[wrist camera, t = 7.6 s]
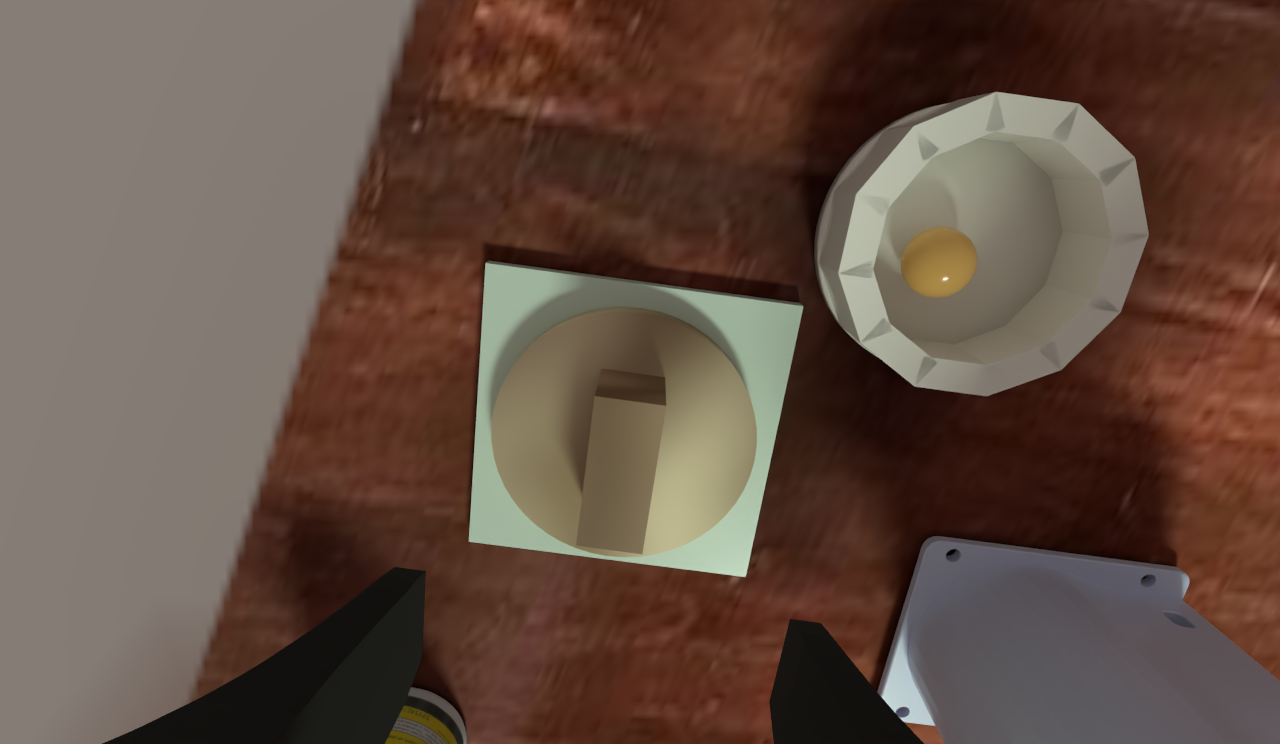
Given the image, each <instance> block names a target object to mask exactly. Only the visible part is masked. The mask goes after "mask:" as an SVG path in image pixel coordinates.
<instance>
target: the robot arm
mask: <svg viewBox="0 0 1280 744" xmlns="http://www.w3.org/2000/svg"><path fill="white" fill-rule="evenodd" d="M951 549H956V551H955V553H954V554H952V555H949V556H946V554H947V552H948V551H950V550H951ZM1146 575H1147V577H1146V578H1145V579H1143V580H1141V579H1142V578H1143V577H1144V576H1146ZM425 576H426V571H420V570H413V569H405V568H398V567H394V568H393V569H391V570H390V571H389V572H387V573H386V574H385V575H383V576H382V577H381V578H379V579H378V580H377V581H375V582H374V583H373V584H371V585H370V586H369V587H367V588H366V589H365V590H364V591H362V592H361V593H360V594H358V595H357V596H356V597H355V598H353V599H352V600H351V601H349V602H348V603H347V604H345V605H344V606H343V607H341V608H340V609H339V610H337V611H336V612H335V613H333V614H332V615H331V616H329V617H328V618H326V619H325V620H324V621H322V622H321V623H320V624H318V625H317V626H315V627H314V628H313V629H311V630H310V631H309V632H307V633H306V634H304V635H303V636H301V637H300V638H299V639H297V640H296V641H294V642H293V643H291V644H290V645H288V646H287V647H285V648H284V649H282V650H281V651H279V652H278V653H276V654H275V655H273V656H271V657H270V658H268V659H267V660H265V661H264V662H262V663H261V664H259V665H257V666H256V667H254V668H252V669H251V670H249V671H247V672H246V673H244V674H242V675H241V676H239V677H237V678H235V679H234V680H232V681H230V682H228V683H226V684H225V685H223V686H221V687H219V688H218V689H216V690H214V691H212V692H210V693H209V694H207V695H205V696H203V697H201V698H199V699H197V700H195V701H193V702H191V703H189V704H187V705H185V706H183V707H181V708H179V709H177V710H175V711H173V712H170V713H168V714H166V715H164V716H162V717H160V718H158V719H156V720H154V721H152V722H150V723H148V724H146V725H144V726H142V727H140V728H137V729H135V730H133V731H131V732H129V733H126V734H124V735H122V736H120V737H117V738H115V739H113V740H110V741H108V742H105V743H103V744H385V742H386V740H387V739H388V737H389V735H390V733H391V731H392V729H393V727H394V725H395V723H396V721H397V719H398V717H399V715H400V713H401V711H402V709H403V707H404V704H405V701H406V699H407V696H408V694H409V691H410V688H411V686H412V683H413V680H414V678H415V675H416V672H417V669H418V667H419V664H420V661H421V658H422V647H423V623H424V600H425ZM1189 582H1190V580H1189V576H1188V575H1187V574H1186V573H1184V572H1183V571H1182V570H1181V569H1179V568H1177V567H1173V566H1166V565H1158V564H1150V563H1143V562H1135V561H1127V560H1120V559H1112V558H1104V557H1097V556H1089V555H1081V554H1073V553H1066V552H1058V551H1050V550H1043V549H1035V548H1027V547H1020V546H1012V545H1004V544H997V543H989V542H981V541H973V540H966V539H958V538H950V537H943V536H933V537H931V538H928V539H927V540H926V541H925V542H924V543H923V545H922V547H921V550H920V553H919V557H918V560H917V563H916V566H915V570H914V573H913V576H912V580H911V583H910V586H909V589H908V593H907V596H906V599H905V603H904V606H903V609H902V612H901V616H900V619H899V622H898V626H897V629H896V632H895V635H894V639H893V642H892V645H891V648H890V652H889V655H888V658H887V662H886V665H885V668H884V671H883V675H882V678H881V681H880V685H879V688H878V691H876V690H875V689H874V688H873V687H872V685H871V684H870V683H869V682H868V681H867V679H866V678H865V677H864V676H863V675H862V673H861V672H860V671H859V670H858V668H857V667H856V666H855V665H854V663H853V662H852V661H851V660H850V659H849V657H848V656H847V655H846V654H845V652H844V651H843V650H842V649H841V647H840V646H839V645H838V644H837V642H836V641H835V640H834V639H833V637H832V636H831V635H830V634H829V632H828V631H827V630H826V629H825V628H824V626H823V625H822V624H821V623H816V622H808V621H801V620H793V619H790V622H789V626H788V630H787V634H786V638H785V642H784V646H783V650H782V654H781V658H780V662H779V666H778V670H777V674H776V678H775V682H774V686H773V690H772V694H771V698H770V710H771V720H772V730H773V738H774V744H924V743H923V742H922V741H921V740H920V739H919V738H918V737H917V736H916V735H915V734H914V733H913V732H912V731H911V729H910V728H909V727H908V726H907V725H906V724H905V723H904V722H909V723H917V724H925V725H933V726H936V728H937V730H938V732H939V734H940V736H941V738H942V740H943V742H944V744H1280V681H1279V680H1278V679H1277V678H1276V677H1274V676H1273V675H1272V674H1271V673H1270V672H1268V671H1267V670H1266V669H1265V668H1264V667H1262V666H1261V665H1260V664H1259V663H1258V662H1256V661H1255V660H1254V659H1253V658H1251V657H1250V656H1249V655H1248V654H1247V653H1245V652H1244V651H1243V650H1242V649H1241V648H1239V647H1238V646H1237V645H1236V644H1235V643H1233V642H1232V641H1231V640H1230V639H1229V638H1227V637H1226V636H1225V635H1224V634H1223V633H1221V632H1220V631H1219V630H1218V629H1217V628H1215V627H1214V626H1213V625H1212V624H1211V623H1209V622H1208V621H1207V620H1206V619H1205V618H1203V617H1202V616H1201V615H1200V614H1199V613H1197V612H1196V611H1195V610H1194V609H1193V608H1191V607H1190V606H1189V605H1188V604H1187V603H1185V602H1184V601H1183V600H1182V599H1183V597H1184V595H1185V592H1186V590H1187V588H1188V586H1189ZM900 707H904V708H902V709H898V708H900Z"/></svg>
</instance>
